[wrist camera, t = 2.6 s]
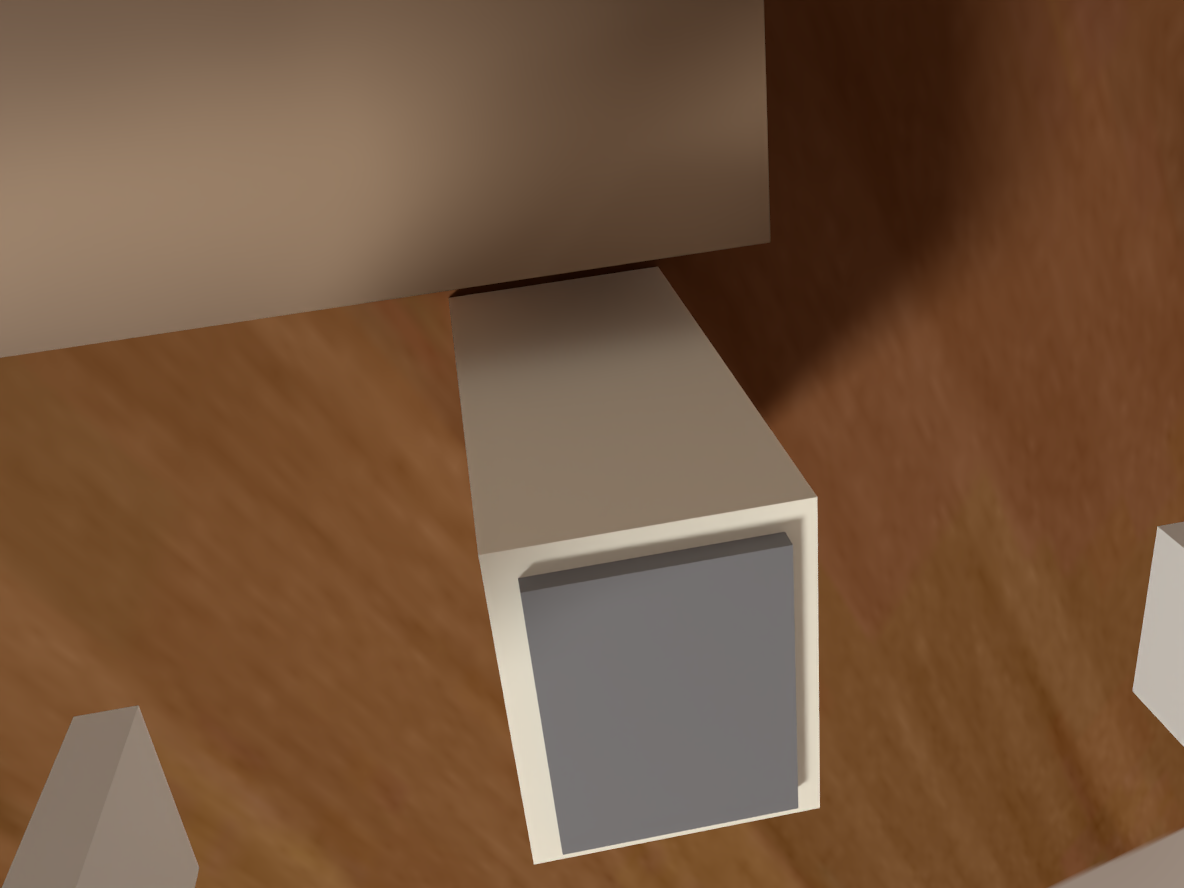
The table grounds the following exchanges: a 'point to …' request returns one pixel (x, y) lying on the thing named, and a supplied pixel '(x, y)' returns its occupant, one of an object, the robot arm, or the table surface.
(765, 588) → the block
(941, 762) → the table surface
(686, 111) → the wooden plank
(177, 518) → the table surface
